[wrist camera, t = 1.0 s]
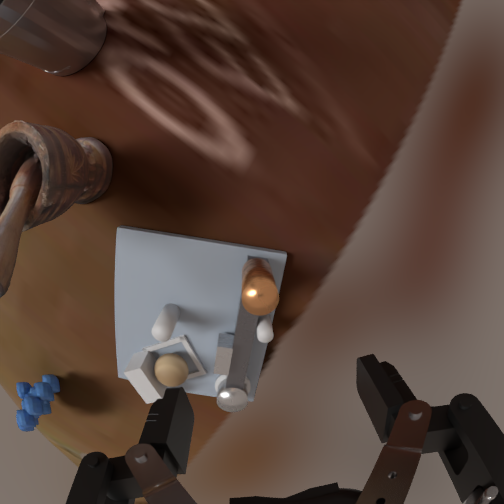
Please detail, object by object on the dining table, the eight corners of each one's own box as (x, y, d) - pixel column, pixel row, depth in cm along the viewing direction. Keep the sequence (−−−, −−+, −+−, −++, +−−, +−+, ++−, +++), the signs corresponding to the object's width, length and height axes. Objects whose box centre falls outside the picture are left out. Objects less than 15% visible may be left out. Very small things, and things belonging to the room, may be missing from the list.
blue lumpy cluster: (44, 341, 35) (0, 388, 23) (79, 371, 36) (42, 425, 24) (27, 379, 37) (-7, 421, 25) (57, 404, 38) (27, 451, 26)
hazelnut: (158, 343, 33) (150, 363, 29) (192, 350, 34) (186, 370, 30) (158, 369, 34) (150, 389, 30) (189, 375, 35) (184, 396, 31)
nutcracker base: (121, 225, 31) (97, 237, 25) (285, 251, 32) (294, 269, 26) (121, 372, 36) (106, 399, 30) (252, 395, 37) (254, 427, 31)
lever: (244, 400, 35) (245, 447, 27) (210, 395, 35) (204, 443, 27) (276, 255, 30) (287, 285, 22) (232, 248, 30) (228, 276, 22)
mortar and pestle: (153, 186, 30) (32, 215, 11) (105, 243, 31) (-16, 323, 12) (87, 119, 27) (-49, 89, 8) (45, 177, 29) (-88, 199, 10)
